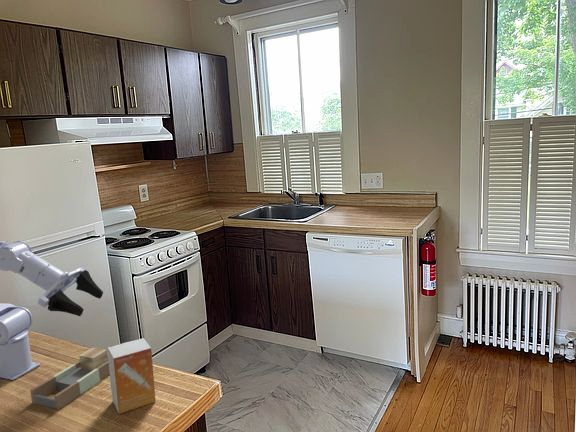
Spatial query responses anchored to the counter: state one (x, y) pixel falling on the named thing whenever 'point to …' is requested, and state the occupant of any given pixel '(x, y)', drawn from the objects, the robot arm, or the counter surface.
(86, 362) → the maple block
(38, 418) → the counter surface
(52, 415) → the counter surface
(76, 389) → the board
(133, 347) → the small box
